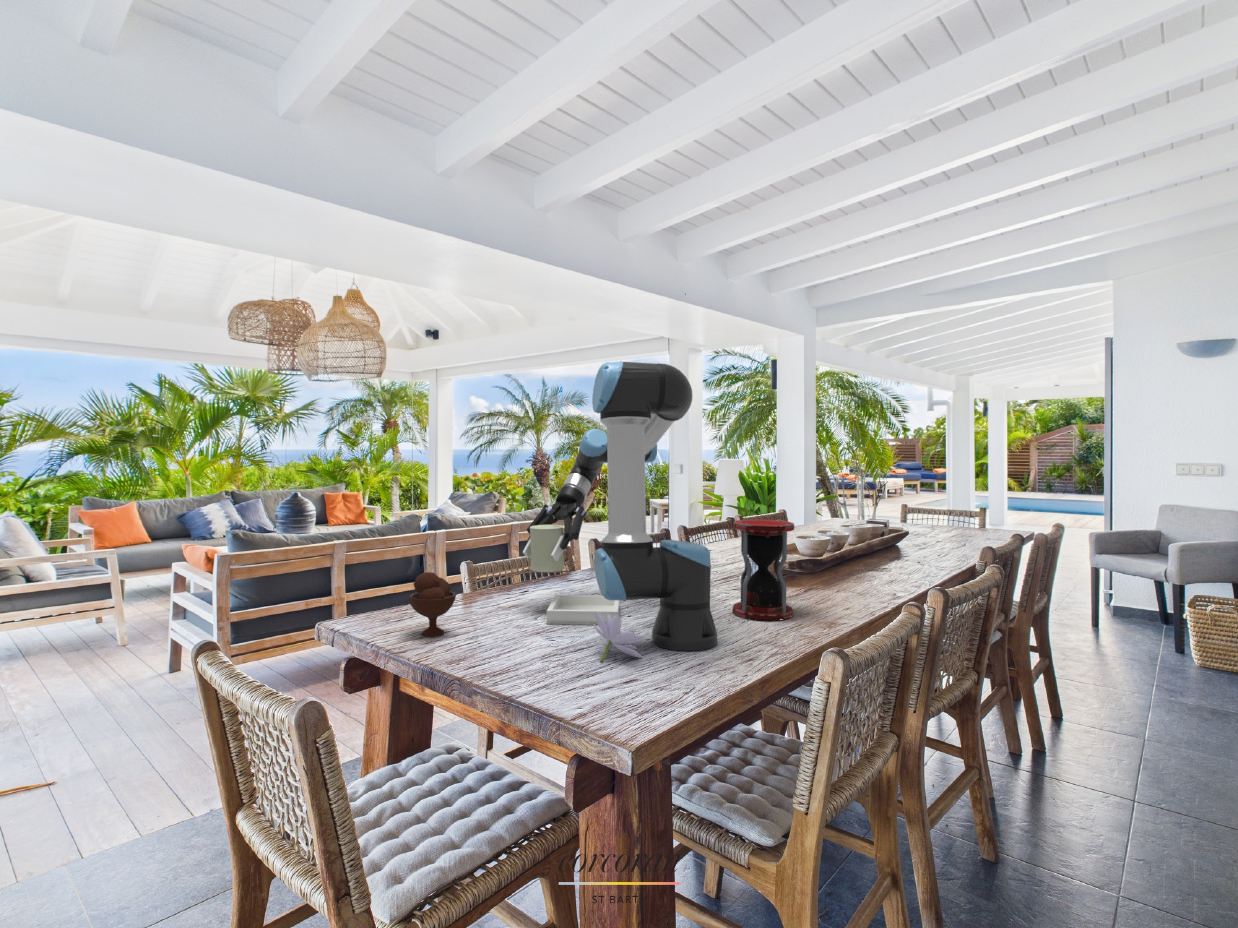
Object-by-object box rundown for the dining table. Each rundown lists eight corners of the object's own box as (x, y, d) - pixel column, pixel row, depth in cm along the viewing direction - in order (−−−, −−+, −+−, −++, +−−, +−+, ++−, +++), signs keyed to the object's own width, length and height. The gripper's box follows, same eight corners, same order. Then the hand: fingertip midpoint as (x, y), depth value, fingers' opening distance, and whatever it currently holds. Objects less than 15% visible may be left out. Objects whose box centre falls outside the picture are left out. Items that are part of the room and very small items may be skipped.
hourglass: (720, 612, 183) (721, 521, 182) (759, 603, 193) (760, 517, 192) (766, 624, 170) (767, 527, 169) (805, 615, 180) (806, 523, 179)
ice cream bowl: (444, 641, 153) (444, 577, 153) (400, 638, 156) (399, 574, 155) (464, 629, 164) (464, 568, 163) (422, 626, 166) (422, 566, 166)
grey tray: (617, 625, 168) (617, 611, 168) (546, 624, 169) (546, 610, 169) (619, 607, 186) (619, 595, 186) (555, 607, 187) (555, 594, 187)
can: (562, 571, 176) (562, 526, 176) (527, 572, 176) (527, 527, 176) (565, 565, 186) (565, 522, 185) (532, 565, 186) (532, 522, 185)
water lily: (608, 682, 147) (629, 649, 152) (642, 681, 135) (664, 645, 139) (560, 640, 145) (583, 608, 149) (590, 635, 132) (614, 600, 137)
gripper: (610, 503, 188) (578, 568, 175) (548, 500, 199) (514, 561, 186) (600, 485, 183) (566, 551, 170) (537, 483, 195) (502, 545, 181)
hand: (539, 556), depth 178 cm, fingers closed on can, 9 cm apart
